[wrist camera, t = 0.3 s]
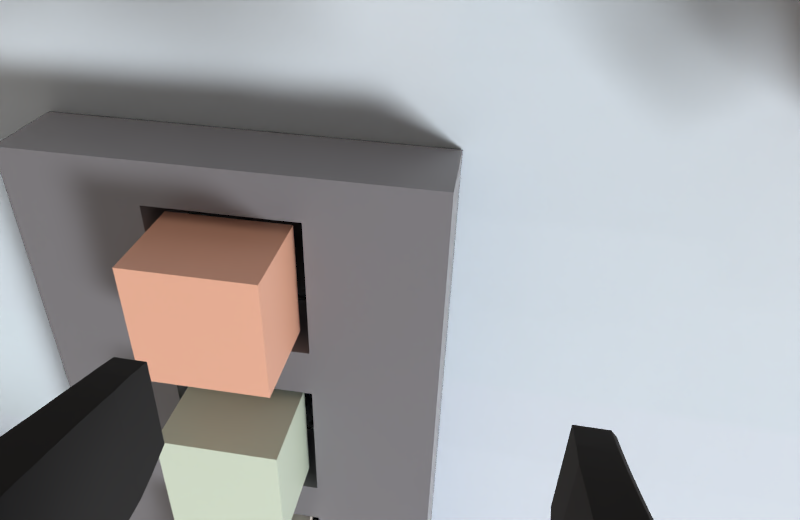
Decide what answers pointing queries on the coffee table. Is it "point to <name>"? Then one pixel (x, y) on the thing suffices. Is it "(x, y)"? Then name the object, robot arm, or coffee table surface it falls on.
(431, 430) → the grey slotted board
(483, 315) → the coffee table surface
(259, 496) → the sage key
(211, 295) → the terracotta key
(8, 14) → the coffee table surface
